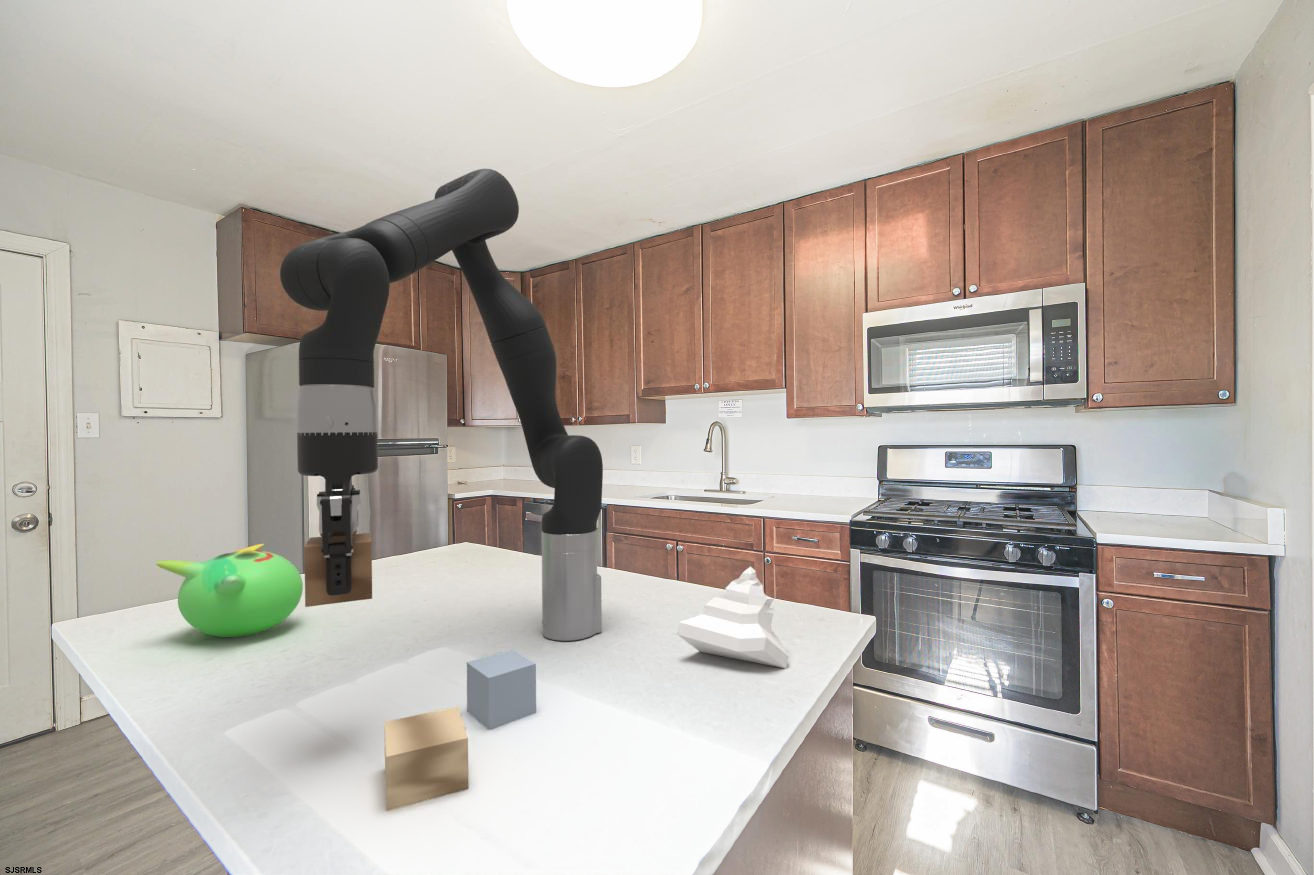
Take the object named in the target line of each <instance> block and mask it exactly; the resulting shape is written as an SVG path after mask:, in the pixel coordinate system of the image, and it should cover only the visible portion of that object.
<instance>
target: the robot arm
mask: <svg viewBox="0 0 1314 875" xmlns="http://www.w3.org/2000/svg"><path fill="white" fill-rule="evenodd" d="M519 211H520V206H519V200H518V196H517V194H516V192H515V190H514V188H513V186H512V185H511V183H510V182H509V180H508V179H507V178H506V177H505V176H504V175H503V174H502V173H500V172H498V171H497V170H495V169H492V168H479V169H475V170H473V171H471V172H468V173H465V174H463V175H461V176H459V177H458V178H455V179H453V180H451V181H449V182H446V183H444V184H443V185H440V187H438V188H437V189H436V191H435V193H434V199H431V200H428V201H425V202H422V203H419V204H415V205H412V206H410V207H407V208H403V209H400V210H398V211H395V212H392V213H389V214H386V215H384V216H381V217H379V218H376V219H374V220H372V221H370V222H368V223H365V224H363V225H362V226H359V227H357V228H355V229H352V230H347V231H344V232H340V233H335V234H332V235H327V236H324V237H320V238H316V239H313V240H310V241H306V242H304V243H300V244H298V245H297V246H295V247H293V248H292V249H291V250H290V251H288V253H287V254H286V255H285V256H284V257H283V260H282V262H281V264H280V270H279V277H280V278H279V280H280V282H281V285H282V288H283V289H284V291H285V293H286V294H287V296H288V297H289V298H290V299H292V300H293V302H294V303H295V304H298V305H299V306H301V307H303V308H306V309H308V310H311V311H312V310H313V311H319V312H320V311H321V312H326V311H327V313H326V316H325V319H324V321H323V323H322V324H321V325H319V326H318V327H315V328H314V329H311V330H309V331H307V332H306V333H304V334H303V335H302V336H301V338H300V340H299V345H298V397H297V404H296V438H297V439H296V440H297V441H296V445H297V446H296V449H297V451H296V452H297V454H296V455H297V458H296V459H297V472H298V473H299V474H300V475H301V476H305V477H306V476H307V477H322V478H324V481H325V482H324V491H323V490H322V491H319V492H318V493H317V494H316V507H317V511H318V512H319V513H318V518H319V519H318V533H319V535H320V536H319V537H322V541H323V547H321V552H323V556H324V558H325V559H326V589H327V594H328V595H330V596H333V595H341V594H348V593H349V592H350V591H351V587H352V586H351V556H352V553H354V548H353V545H352V537H353V536H354V535H355V534H358V528H359V509H360V508H361V489H356V487H355V485H354V484H353V476H355V475H367V474H374V473H376V472H377V471H378V468H379V451H378V450H379V442H378V440H379V439H378V437H379V436H378V406H377V405H378V404H377V401H376V400H377V399H376V394H375V358H374V352H375V348H376V344H377V341H378V339H379V334H380V333H381V332H380V331H381V327H382V323H383V320H384V316H385V313H386V312H385V311H386V308H387V304H388V301H389V295H390V287H391V286H390V284H392V283H395V282H396V283H397V282H399V281H401V280H402V281H403V280H404V279H406V278H407V277H409V276H412V275H413V274H415V273H417V272H418V271H421V270H422V269H423V268H426V267H427V266H428V265H430V264H432V263H434V262H435V261H437V260H438V259H440V258H441V257H443V256H445V255H447V254H448V253H450V252H451V251H452V254H453V256H454V258H455V260H456V262H457V264H458V266H459V268H460V271H462V273H463V276H464V278H465V281H466V282H467V285H468V288H469V289H470V292H471V293H472V294H471V295H472V297H473V299H474V301H475V305H476V307H477V309H478V313H479V314H480V317H481V319H482V322H483V325H484V327H485V331H486V334H487V336H488V340H489V343H490V345H491V348H492V350H493V354H494V355H495V358H496V361H497V363H498V366H499V368H500V370H501V372H502V376H503V378H504V380H505V383H506V386H507V389H508V391H509V395H510V397H511V399H512V403H513V405H514V407H515V410H516V413H517V416H518V419H519V421H520V424H521V428H522V432H523V434H524V439H525V443H526V446H527V451H528V455H529V458H530V462H531V465H532V469H533V471H534V473H535V476H536V477H537V479H538V480H539V481H540V482H541V483H542V484H543V485H545V486H547V487H549V488H553V489H554V495H553V504H552V506H551V508H550V509H549V510H548V511H546V512H544V513H543V514H542V516H541V601H542V602H541V603H542V604H541V605H542V606H541V608H542V609H541V610H542V611H541V624H542V630H541V631H542V635H543V636H544V637H545V638H547V639H548V640H549V639H550V640H554V641H561V642H562V641H565V642H566V641H579V640H582V639H588V638H589V637H591V636H594V635H596V634H599V633H602V629H603V628H602V625H603V624H602V622H603V621H602V618H603V617H602V616H603V615H602V605H603V604H602V576H601V575H600V574H599V573H598V547H597V546H598V538H597V537H598V534H597V533H598V525H597V524H598V518H599V516H600V514H601V511H602V503H603V499H602V498H603V476H604V475H603V474H604V473H603V472H604V464H603V458H602V453H601V450H600V448H599V446H598V445H597V443H596V442H595V440H593V439H592V438H590V437H587V436H586V435H585V436H584V435H578V434H576V435H573V434H570V435H569V434H568V432H567V429H566V428H565V426H564V425H565V424H564V423H563V420H562V417H561V415H560V412H559V409H558V405H557V404H558V403H557V400H556V399H557V398H556V385H557V357H556V355H557V354H556V351H555V348H554V344H553V342H552V339H551V335H550V332H549V330H548V327H547V324H546V321H545V319H544V316H543V315H542V312H540V311H539V309H538V308H537V307H536V306H535V305H534V304H533V303H532V302H531V301H530V299H528V298H527V297H526V296H525V295H524V294H523V293H522V292H521V291H519V290H518V289H517V288H516V287H515V286H513V285H512V284H511V282H509V281H508V280H507V278H505V276H504V275H503V274H502V272H501V271H500V269H499V268H498V267H497V264H496V263H495V261H494V259H493V256H492V254H491V252H490V250H489V246H488V244H487V241H486V240H488V239H489V240H490V239H491V238H494V237H497V236H499V235H502V234H504V233H505V232H507V231H509V230H510V229H512V228H513V227H514V225H515V224H516V223H517V220H518V218H519ZM335 536H345V538H346V542H334V543H330V540H331V538H332V537H335Z"/></svg>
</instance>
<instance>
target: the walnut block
mask: <svg viewBox="0 0 1314 875" xmlns="http://www.w3.org/2000/svg"><path fill="white" fill-rule="evenodd" d="M334 542H346V538H345V536H335V537H332V538H331V540H330V543H334ZM352 545H353V548H354V553H352V556H351V586H352V587H351V591H350V592H349V593H348V594H341V595H333V596H330V595H328V594H327V589H326V559H325V558H324V556H323V552H321V547H323V541H322V537H321V536H316V537H309V539H308V541H307V542H306V543H305V545H304V547H303V550H304V603H305V604H304V606H305V608H309V607H317V606H324V605H333V604H340V603H348V602H356V601H364V600H372V599H373V554H372V552H373V550H372V549H373V548H372V532H366V533H365V532H364V533H356V534H355V535H354V536H353V537H352Z"/></svg>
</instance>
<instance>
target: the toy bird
mask: <svg viewBox="0 0 1314 875" xmlns="http://www.w3.org/2000/svg"><path fill="white" fill-rule="evenodd" d="M264 545H265V543H260V544H259V543H258V544H254V545H252V546H248V547H245V548H242V549H239V550H236V551H233V552H227V553H222V554H220V555H218V556H215V557H213V558H210V559H207V560H206V561H204V562H202V561H187V560H159V561H157V562H156V566H157V567H159V568H160V569H163V570H165V571H168V572H171V573H173V574H176V575H178V576H181V577H184V579H183V581H182V584H181V586H180V587H179V590H178V593H177V606H178V609H179V612H180V614H181V615H182V617H183V618H184V620H185V621H186V622H187V623H188V625H190V626H191V627H192V628H194V629H196V630H197V631H199V632H202V633H204V634H206V635H210V636H215V637H221V638H238V637H246V636H250V635H255V634H258V633H262V632H264V631H266V630H269V629H272V628H273V627H274V628H275V626H277V625H279V624H280V623H282V622H283V621H285V620H286V619H287V618H288V617H290V615H291V614H292V613H293V612H294V611H295V610H296V608H297V607H298V604H299V602H300V601H301V598H302V595H303V589H304V585H303V578H302V576H301V574H300V572H299V570H298V569H297V567H296V566H295V565H294V564H292V562H291V561H289V559H286V558H285V557H283V556H281V555H279V554H276V553H272V552H269V551H265V550H264V551H263V550H259V549H260V548H262V547H263V546H264Z"/></svg>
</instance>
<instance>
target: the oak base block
mask: <svg viewBox="0 0 1314 875" xmlns="http://www.w3.org/2000/svg"><path fill="white" fill-rule="evenodd" d="M467 734H468V733H467V730H466V727H465V724H464V721H463V718H462V714H461V711H460V708H459V706H454V707H449V708H444V709H440V710H433V711H429V712H426V713H420V714H415V715H411V716H405V717H402V718H395V719H392V720H387V721H386V720H385V721H384V777H385V778H384V780H385V781H386V782H385V805H386V806H385V807H386V808H385V809H386V812H387V811H391V810H395V809H399V808H402V807H406V806H409V805H414V804H417V802H418V803H422V802H424V800H425V801H428V800H427V799H429V800H432V798H433V799H436V798H439V797H444V796H447V794H448V795H450V794H451V795H452V794H454V793H458V792H459V793H460V792H463V791H465V790H469V736H468V735H467ZM435 797H436V798H435Z"/></svg>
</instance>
